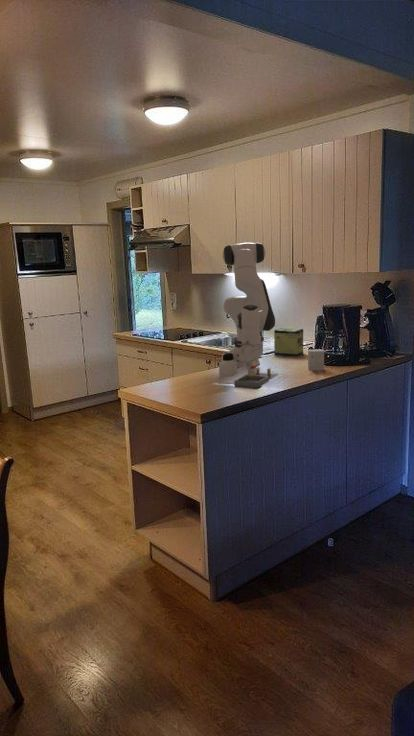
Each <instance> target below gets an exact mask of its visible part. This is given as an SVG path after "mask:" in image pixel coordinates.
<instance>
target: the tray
mask: <svg viewBox="0 0 414 736" xmlns="http://www.w3.org/2000/svg"><path fill="white" fill-rule="evenodd" d="M267 382H269V376H257V375H256V376H253V377H250V376H248V375H247V374H245V375H243V376H241V377H239V378H238V379H235V380H234V388H241V389H243V388H244V389H251V390H252V389H253V390H259V389H261V388H262V385H263V384H266V383H267Z"/></svg>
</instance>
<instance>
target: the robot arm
mask: <svg viewBox="0 0 414 736" xmlns="http://www.w3.org/2000/svg"><path fill="white" fill-rule="evenodd" d="M265 258H266V248H265V246H264V244H263V243H260V242H243V243H235V244H228V245H226V246H224V248H223V251H222V259H223V262H224V264H226V265H227V266H233V269H234V270H233V271H234V272H233V273H234V286H235V288H236V289H237V290H238V291H240V292H242V293H244V294H245V295H242V296H241V295H237V296H236V295H234V296H230V297H227V298H226V299H225V300H224V302H223V311H224V313H225V314H226V315H228V316H229V317H230V318H231V319H232V320H233V322H234V324H235V327H236V340H235V341H233V345H234V346H233V347H232V348H231V349H230V350H229V351H227V352H226V353H232V354H233V360H234V361H233V362H236V364H237V368H242V367H246V370H247V371H248V370H251V369H252V368H251V367H252V366H251V364H250V363H251V360H253V359H254V358H255V357H256V367H257V366H260V365H261V363H260V360H259V358H260V357H262V356H263V353H264V352H263V351H264V343H263V342H264V341H265V337H264V336H262V335H261V331H263V332H264V331H265V332H270V331H271V330H272V329H274V327H275V326H276V317H275V316H276V315H275V314H274V311H273V308H272V304H271V301H270V297H269V293H268V288H267V287H266V283H265V281H264V279H261V277H260V276H259V275H258V272H257V264H260V263H262V262H263V261H264V260H265ZM220 363H222V361H221V362H220Z"/></svg>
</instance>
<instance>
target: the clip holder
mask: <svg viewBox="0 0 414 736" xmlns="http://www.w3.org/2000/svg"><path fill="white" fill-rule="evenodd" d="M271 368H272V367H271ZM271 368H269V367H268V368H267V369H266V371H267V372H266V373H265V372H261V370H260V369H261V368H260V367H256V375H257V376H269V380H272V379H274V378H275V377H277V376H279V374H278V373H271V371H272V370H271Z"/></svg>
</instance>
